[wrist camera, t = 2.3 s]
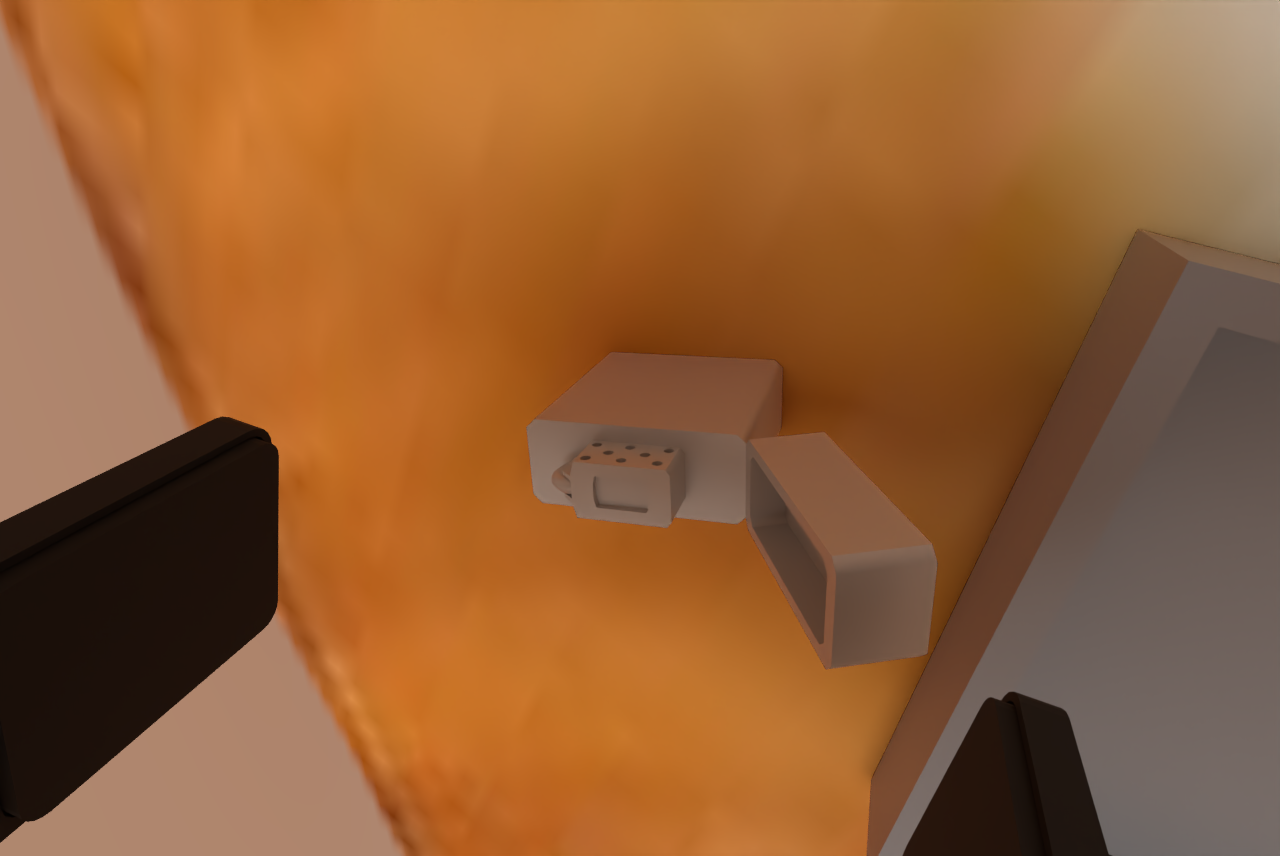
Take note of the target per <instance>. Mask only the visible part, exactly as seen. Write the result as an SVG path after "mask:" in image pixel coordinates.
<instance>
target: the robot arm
mask: <svg viewBox="0 0 1280 856" xmlns="http://www.w3.org/2000/svg"><path fill="white" fill-rule="evenodd" d="M278 486H279V455H278V450H277V448H276V446H274V445H273V444H272V443H271V438H270V436H269V434H268V432H266V431H265V430H263V429H261V428H258V427H255V426H253V425H250V424H247V423H244V422H241V421H238V420H235V419H232V418H230V417H219V418H216V419H214V420H212V421H209V422H207V423H205V424H203V425H201V426H199V427H197V428H195V429H193V430H191V431H189V432H187V433H185V434H183V435H180V436H178V437H176V438H174V439H172V440H170V441H168V442H166V443H164V444H162V445H160V446H158V447H156V448H154V449H151V450H149V451H147V452H145V453H143V454H141V455H139V456H137V457H135V458H133V459H131V460H129V461H127V462H124V463H122V464H120V465H118V466H116V467H114V468H112V469H110V470H108V471H106V472H104V473H102V474H100V475H98V476H95V477H94V478H91V479H89V480H87V481H85V482H83V483H81V484H79V485H77V486H75V487H73V488H71V489H69V490H66V491H65V492H62V493H60V494H58V495H56V496H54V497H52V498H50V499H48V500H46V501H44V502H42V503H40V504H37V505H35V506H33V507H31V508H29V509H28V510H25V511H23V512H21V513H19V514H17V515H15V516H13V517H11V518H9V519H7V520H4V521H2V522H0V842H2V841H3V840H4V839H5V838H6V837H8V836H9V835H10V834H11V833H12V832H14V831H15V830H16V829H17V828H18V827H19V826H21V825H22V824H23V823H24V822H25V821H27V822H29V821H35V820H37V819H39V818H41V817H43V816H45V815H46V814H48V813H49V812H50V811H52V810H53V809H54V808H55V807H56V806H58V805H59V804H60V803H61V802H62V801H63V800H64V799H65V798H67V797H68V796H69V795H70V794H71V793H73V792H74V791H75V790H76V789H77V788H79V787H80V786H81V785H82V784H83V783H84V782H86V781H87V780H88V779H89V778H90V777H91V776H92V775H94V774H95V773H96V772H97V771H98V770H100V769H101V768H102V767H103V766H104V765H105V764H107V763H108V762H109V761H110V760H111V759H112V758H114V756H116V755H117V754H118V753H119V752H121V751H122V750H123V749H124V748H125V747H126V746H128V745H129V744H130V743H131V742H132V741H133V740H135V739H136V738H137V737H138V736H139V735H140V734H142V733H143V732H144V731H145V730H146V729H147V728H149V727H150V726H151V725H152V724H153V723H154V722H156V721H157V720H158V719H159V718H160V717H161V716H163V715H164V714H165V713H166V712H167V711H169V709H171V708H172V707H173V706H174V705H175V704H177V703H178V702H179V701H180V700H181V699H183V698H184V697H185V696H186V695H187V694H188V693H189V692H191V691H192V690H193V689H194V688H195V687H197V686H198V685H199V684H200V683H201V682H202V681H204V680H205V679H206V678H207V677H208V676H209V675H210V674H212V673H213V672H214V671H215V670H216V669H218V668H219V667H220V666H221V665H222V664H223V663H225V662H226V661H227V660H228V659H229V658H230V657H232V656H233V655H234V654H235V653H236V652H237V651H238V650H240V649H241V648H242V647H243V646H244V645H246V644H247V643H248V642H249V641H250V640H251V639H253V638H254V637H255V636H256V635H257V634H258V633H260V632H261V631H262V630H263V629H264V628H265V627H266V626H267V625H268V624H269V622H270V621H271V619H272V617H273V615H274V614H275V611H276V608H277V603H278ZM903 856H1112V855H1109V854H1108V850H1107V847H1106V843H1105V840H1104V836H1103V833H1102V829H1101V826H1100V822H1099V819H1098V815H1097V812H1096V808H1095V805H1094V802H1093V798H1092V795H1091V791H1090V788H1089V784H1088V781H1087V777H1086V774H1085V770H1084V767H1083V763H1082V760H1081V756H1080V753H1079V749H1078V746H1077V743H1076V739H1075V736H1074V732H1073V729H1072V725H1071V722H1070V718H1069V716H1068V714H1067V712H1066V711H1065V710H1064V709H1062V708H1060V707H1057V706H1054V705H1051V704H1048V703H1045V702H1043V701H1040V700H1037V699H1034V698H1031V697H1028V696H1025V695H1023V694H1020V693H1017V692H1014V691H1012V692H1008V693H1007V694H1006V695H1005V696H1004V697H1003V699H1002V700H998V699H995V698H992V697H989V698H987V699H986V700H985V701H984V703H983V704H982V706H981V708H980V709H979V711H978V713H977V715H976V717H975V719H974V721H973V723H972V724H971V726H970V728H969V730H968V732H967V734H966V736H965V738H964V739H963V741H962V743H961V745H960V747H959V749H958V751H957V752H956V754H955V756H954V758H953V760H952V762H951V764H950V766H949V767H948V769H947V771H946V773H945V775H944V777H943V779H942V780H941V782H940V784H939V786H938V788H937V790H936V792H935V794H934V795H933V797H932V799H931V801H930V803H929V805H928V807H927V809H926V810H925V812H924V814H923V816H922V818H921V820H920V822H919V823H918V825H917V827H916V829H915V831H914V833H913V835H912V837H911V838H910V840H909V842H908V844H907V846H906V848H905V850H904V853H903Z"/></svg>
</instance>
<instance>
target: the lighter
mask: <svg viewBox="0 0 1280 856" xmlns="http://www.w3.org/2000/svg"><path fill="white" fill-rule="evenodd" d="M782 385H783V367H782V366H781V365H780V364H779V363H778V362H777V361H776V360H768V359H747V358H726V357H705V356H684V355H664V354H643V353H622V352H611V353H609V354H608V355H607V356H606V357H605V358H604V359H602V360H601V361H600V362H599V363H598V364H597V365H596V366H594V367H593V368H592V369H591V370H590V371H589V372H588V373H586V374H585V375H584V376H583V377H582V378H581V379H580V380H578V381H577V382H576V383H575V384H574V385H573V386H572V387H570V388H569V389H568V390H567V391H566V392H565V393H564V394H562V395H561V396H560V397H559V398H558V399H557V400H556V401H554V402H553V403H552V404H551V405H550V406H549V407H548V408H546V409H545V410H544V411H543V412H542V413H541V414H540V415H538V416H537V417H536V418H535V419H534V420H533V421H532V422H531V423H530V424H529V425H528V426H527V427H526V428H527V437H528V446H529V456H530V465H531V474H532V483H533V493H534V495H535V496H536V497H537V498H538V499H539V500H540V501H541V502H542V503H549V504H558V505H567V506H573V507H574V510H575V512H576V515H577V518H585V519H594V520H603V521H612V522H620V523H629V524H638V525H646V526H655V527H664V528H668V526H669V525H670V524H671V523H672V521H673V519H674V517H676V518H685V519H694V520H703V521H712V522H721V523H730V524H738V523H739V522H741V521H742V520H743V519H745V518H746V521H747V526H748V531H749V532H750V534H751V536H752V538H753V540H754V541H755V543H756V545H757V547H758V549H759V550H760V552H761V554H762V556H763V558H764V559H765V561H766V563H767V565H768V566H769V568H770V570H771V572H772V574H773V575H774V577H775V579H776V581H777V583H778V584H779V586H780V588H781V590H782V592H783V593H784V595H785V597H786V599H787V601H788V602H789V604H790V606H791V608H792V610H793V611H794V613H795V615H796V617H797V619H798V620H799V622H800V624H801V626H802V628H803V629H804V631H805V633H806V635H807V637H808V638H809V640H810V642H811V644H812V646H813V647H814V649H815V651H816V653H817V655H818V656H819V658H820V660H821V662H822V664H823V665H824V667H825V669H832V668H839V667H846V666H853V665H861V664H868V663H875V662H882V661H890V660H897V659H904V658H911V657H919V656H922V655H926V654H927V653H928V644H929V635H930V626H931V617H932V609H933V600H934V591H935V582H936V573H937V564H938V563H937V559H936V556H935V552H934V549H933V545H932V543H931V542H930V541H929V540H928V539H927V538H926V537H925V536H924V535H923V534H922V533H921V532H920V531H919V530H918V529H917V528H916V527H915V526H914V525H913V524H912V523H911V521H910V520H909V519H908V518H907V517H906V516H905V515H904V514H903V513H902V512H901V511H900V510H899V509H898V508H897V507H896V506H895V505H894V504H893V503H892V502H891V501H890V500H889V499H888V498H887V497H886V495H885V494H884V493H883V492H882V491H881V490H880V489H879V488H878V487H877V486H876V485H875V484H874V483H873V482H872V481H871V480H870V479H869V478H868V477H867V476H866V475H865V474H864V473H863V472H862V471H861V469H860V468H859V467H858V466H857V465H856V464H855V463H854V462H853V461H852V460H851V459H850V458H849V457H848V456H847V455H846V454H845V453H844V452H843V451H842V450H841V449H840V448H839V447H838V446H837V445H836V443H835V442H834V441H833V440H832V439H831V438H830V437H829V436H828V435H827V434H826V433H825V432H818V433H808V434H798V435H789V436H779V437H778V435H779V432H780V429H781V427H782Z"/></svg>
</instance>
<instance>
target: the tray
mask: <svg viewBox="0 0 1280 856" xmlns="http://www.w3.org/2000/svg"><path fill="white" fill-rule="evenodd" d="M1012 691H1014V692H1017V693H1020V694H1023V695H1025V696H1028V697H1031V698H1034V699H1037V700H1040V701H1043V702H1045V703H1048V704H1051V705H1054V706H1057V707H1060V708H1062V709H1064V710H1065V711H1066V712H1067V714H1068V716H1069V718H1070V722H1071V725H1072V729H1073V732H1074V736H1075V739H1076V743H1077V746H1078V749H1079V753H1080V756H1081V760H1082V763H1083V767H1084V770H1085V774H1086V777H1087V781H1088V784H1089V788H1090V791H1091V795H1092V798H1093V802H1094V805H1095V808H1096V812H1097V815H1098V819H1099V822H1100V826H1101V829H1102V833H1103V836H1104V840H1105V843H1106V847H1107V850H1108V854H1109V855H1112V856H1280V264H1276V263H1272V262H1268V261H1264V260H1260V259H1256V258H1252V257H1248V256H1244V255H1240V254H1236V253H1232V252H1228V251H1224V250H1220V249H1216V248H1212V247H1208V246H1204V245H1200V244H1196V243H1192V242H1188V241H1184V240H1180V239H1176V238H1172V237H1168V236H1164V235H1160V234H1156V233H1152V232H1147V231H1143V230H1139V229H1138V230H1137V232H1136V234H1135V236H1134V238H1133V240H1132V242H1131V244H1130V246H1129V248H1128V250H1127V252H1126V254H1125V257H1124V259H1123V261H1122V263H1121V265H1120V267H1119V269H1118V271H1117V273H1116V275H1115V277H1114V279H1113V281H1112V283H1111V285H1110V288H1109V290H1108V292H1107V294H1106V296H1105V298H1104V300H1103V302H1102V304H1101V306H1100V308H1099V310H1098V312H1097V314H1096V316H1095V319H1094V321H1093V323H1092V325H1091V327H1090V329H1089V331H1088V333H1087V335H1086V337H1085V339H1084V341H1083V343H1082V345H1081V347H1080V350H1079V352H1078V354H1077V356H1076V358H1075V360H1074V362H1073V364H1072V366H1071V368H1070V370H1069V372H1068V374H1067V376H1066V379H1065V381H1064V383H1063V385H1062V387H1061V389H1060V391H1059V393H1058V395H1057V397H1056V399H1055V401H1054V403H1053V405H1052V407H1051V410H1050V412H1049V414H1048V416H1047V418H1046V420H1045V422H1044V424H1043V426H1042V428H1041V430H1040V432H1039V434H1038V436H1037V438H1036V441H1035V443H1034V445H1033V447H1032V449H1031V451H1030V453H1029V455H1028V457H1027V459H1026V461H1025V463H1024V465H1023V467H1022V469H1021V472H1020V474H1019V476H1018V478H1017V480H1016V482H1015V484H1014V486H1013V488H1012V490H1011V492H1010V494H1009V496H1008V498H1007V500H1006V503H1005V505H1004V507H1003V509H1002V511H1001V513H1000V515H999V517H998V519H997V521H996V523H995V525H994V527H993V529H992V531H991V534H990V536H989V538H988V540H987V542H986V544H985V546H984V548H983V550H982V552H981V554H980V556H979V558H978V560H977V562H976V565H975V567H974V569H973V571H972V573H971V575H970V577H969V579H968V581H967V583H966V585H965V587H964V589H963V591H962V594H961V596H960V598H959V600H958V602H957V604H956V606H955V608H954V610H953V612H952V614H951V616H950V618H949V620H948V622H947V625H946V627H945V629H944V631H943V633H942V635H941V637H940V639H939V641H938V643H937V645H936V647H935V649H934V651H933V653H932V656H931V658H930V660H929V662H928V664H927V666H926V668H925V670H924V672H923V674H922V676H921V678H920V680H919V682H918V684H917V687H916V689H915V691H914V693H913V695H912V697H911V699H910V701H909V703H908V705H907V707H906V709H905V711H904V713H903V715H902V718H901V720H900V722H899V724H898V726H897V728H896V730H895V732H894V734H893V736H892V738H891V740H890V742H889V744H888V746H887V749H886V751H885V753H884V755H883V757H882V759H881V761H880V763H879V765H878V767H877V769H876V771H875V773H874V775H873V778H872V780H871V791H870V808H869V825H868V842H867V856H903V853H904V850H905V848H906V846H907V844H908V842H909V840H910V838H911V837H912V835H913V833H914V831H915V829H916V827H917V825H918V823H919V822H920V820H921V818H922V816H923V814H924V812H925V810H926V809H927V807H928V805H929V803H930V801H931V799H932V797H933V795H934V794H935V792H936V790H937V788H938V786H939V784H940V782H941V780H942V779H943V777H944V775H945V773H946V771H947V769H948V767H949V766H950V764H951V762H952V760H953V758H954V756H955V754H956V752H957V751H958V749H959V747H960V745H961V743H962V741H963V739H964V738H965V736H966V734H967V732H968V730H969V728H970V726H971V724H972V723H973V721H974V719H975V717H976V715H977V713H978V711H979V709H980V708H981V706H982V704H983V703H984V701H985V700H986V699H987V698H989V697H992V698H995V699H998V700H1002V699H1003V697H1004V696H1005V695H1006V694H1007V693H1008V692H1012Z"/></svg>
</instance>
